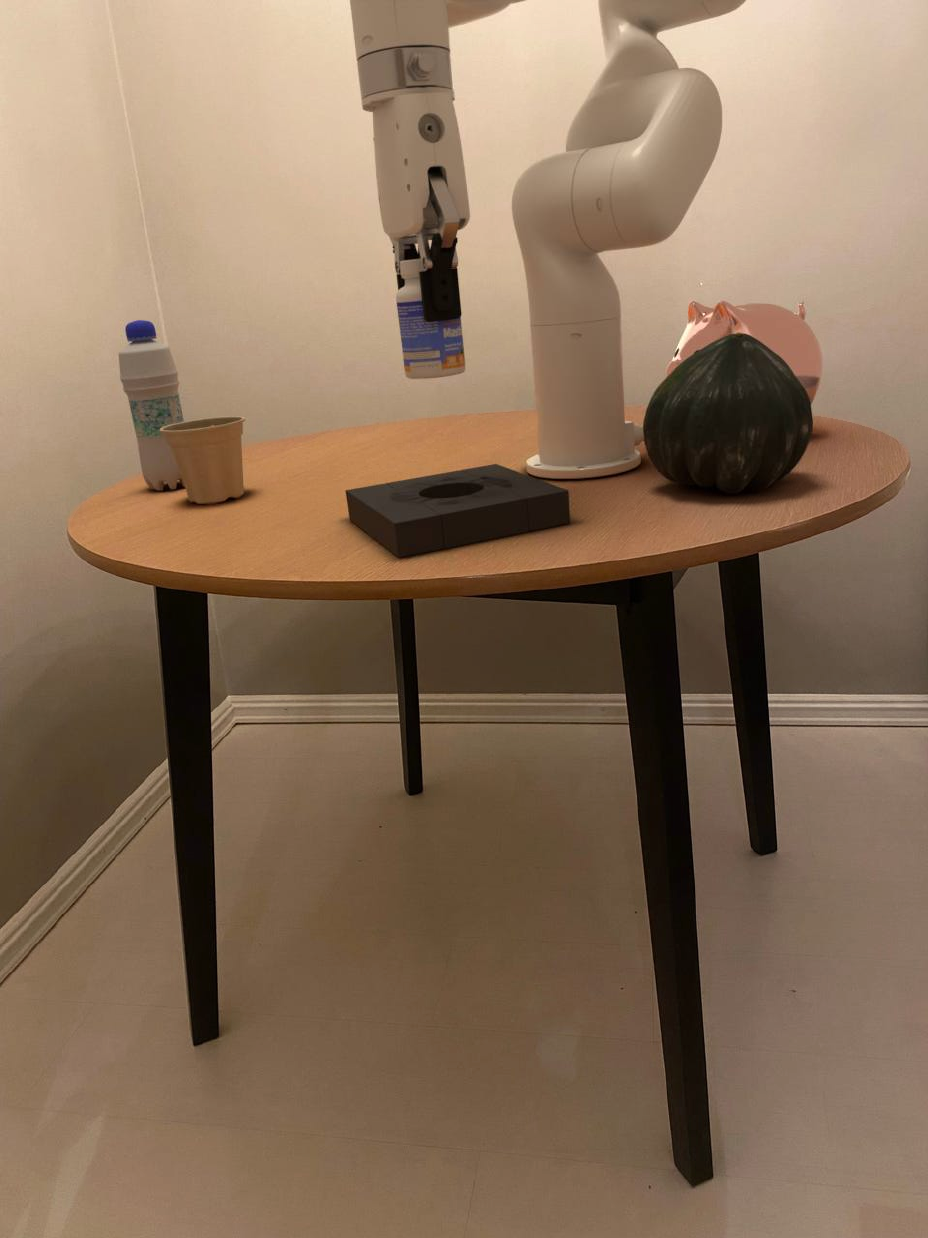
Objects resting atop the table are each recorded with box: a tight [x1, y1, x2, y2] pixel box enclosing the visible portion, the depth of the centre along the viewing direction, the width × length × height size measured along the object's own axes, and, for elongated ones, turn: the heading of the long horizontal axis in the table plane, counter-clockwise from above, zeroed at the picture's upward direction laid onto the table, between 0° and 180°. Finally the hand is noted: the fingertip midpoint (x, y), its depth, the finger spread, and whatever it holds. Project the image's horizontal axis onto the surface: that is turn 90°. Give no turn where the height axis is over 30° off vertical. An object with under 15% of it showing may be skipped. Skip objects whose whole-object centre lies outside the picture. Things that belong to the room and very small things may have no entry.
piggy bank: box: [665, 300, 823, 437], centre depth 108 cm, size 15×18×16 cm
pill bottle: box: [395, 259, 466, 380], centre depth 81 cm, size 5×5×10 cm
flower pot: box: [160, 415, 246, 505], centre depth 107 cm, size 9×9×9 cm
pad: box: [345, 463, 571, 559], centre depth 87 cm, size 16×16×3 cm
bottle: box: [117, 319, 185, 492], centre depth 114 cm, size 7×7×20 cm
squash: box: [642, 333, 814, 495], centre depth 88 cm, size 14×15×15 cm
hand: (430, 317), depth 81 cm, fingers closed on pill bottle, 5 cm apart
